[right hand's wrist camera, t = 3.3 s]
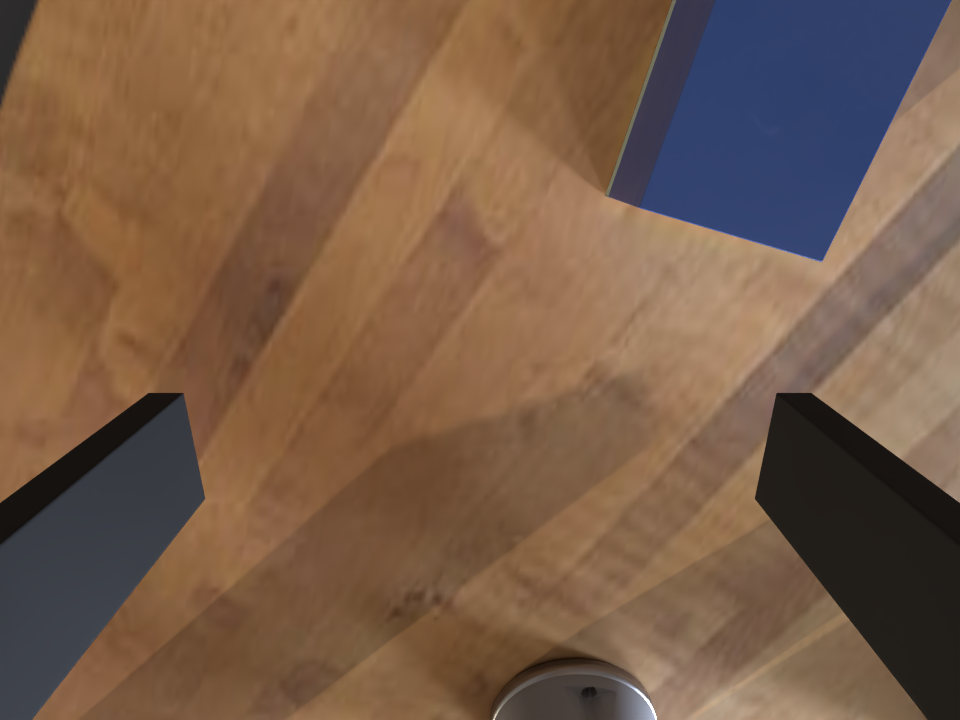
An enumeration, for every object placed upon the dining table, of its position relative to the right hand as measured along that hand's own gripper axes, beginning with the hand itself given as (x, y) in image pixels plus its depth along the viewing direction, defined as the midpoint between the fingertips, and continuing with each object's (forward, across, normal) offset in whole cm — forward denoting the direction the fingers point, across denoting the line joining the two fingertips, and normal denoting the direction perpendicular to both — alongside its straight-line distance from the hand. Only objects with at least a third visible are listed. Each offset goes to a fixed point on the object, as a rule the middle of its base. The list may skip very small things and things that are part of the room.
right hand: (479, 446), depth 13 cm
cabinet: (+26, -15, -10) cm, 32 cm away
